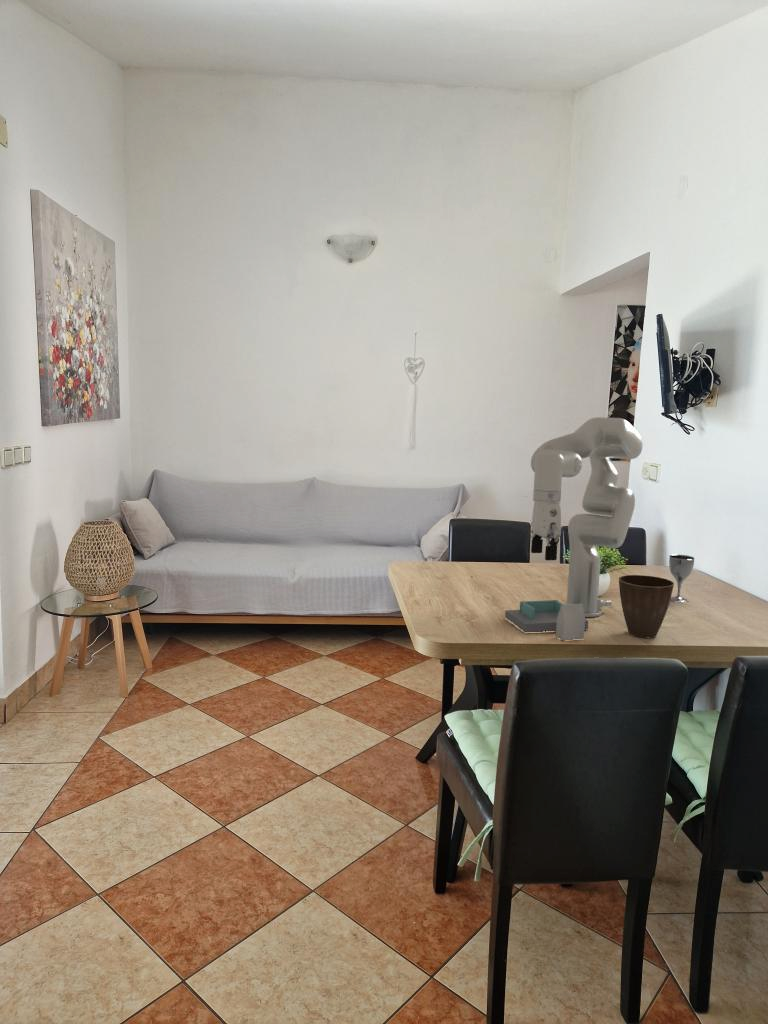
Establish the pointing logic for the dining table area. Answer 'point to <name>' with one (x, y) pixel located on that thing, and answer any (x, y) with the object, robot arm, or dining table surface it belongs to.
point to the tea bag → (570, 622)
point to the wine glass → (680, 571)
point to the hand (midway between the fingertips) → (543, 556)
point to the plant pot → (644, 603)
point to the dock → (536, 615)
